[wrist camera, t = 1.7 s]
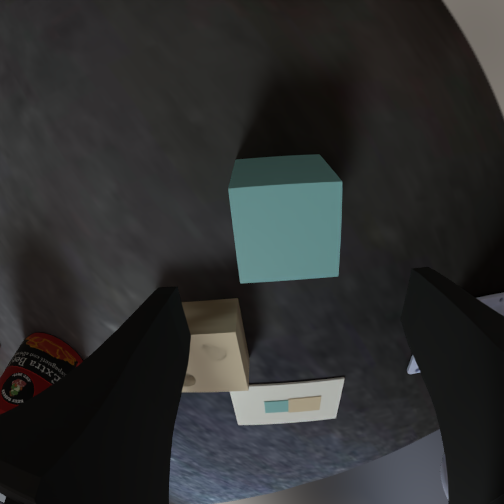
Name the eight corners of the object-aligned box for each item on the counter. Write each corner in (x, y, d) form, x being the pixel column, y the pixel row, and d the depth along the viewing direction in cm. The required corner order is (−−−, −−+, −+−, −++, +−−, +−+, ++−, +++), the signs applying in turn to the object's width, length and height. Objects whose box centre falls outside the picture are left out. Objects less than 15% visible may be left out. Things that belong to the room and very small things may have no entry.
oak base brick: (238, 296, 21) (235, 332, 18) (249, 355, 24) (248, 390, 21) (154, 301, 22) (141, 336, 19) (176, 358, 25) (168, 391, 22)
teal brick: (319, 154, 16) (342, 181, 12) (319, 228, 19) (338, 276, 14) (235, 159, 17) (228, 188, 12) (243, 233, 19) (240, 283, 15)
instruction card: (344, 376, 26) (344, 379, 25) (335, 416, 29) (335, 418, 29) (228, 385, 26) (228, 388, 26) (238, 423, 30) (238, 425, 29)
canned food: (84, 343, 24) (37, 449, 15) (95, 392, 28) (64, 481, 19) (17, 319, 23) (-38, 406, 14) (35, 370, 27) (-3, 448, 18)
